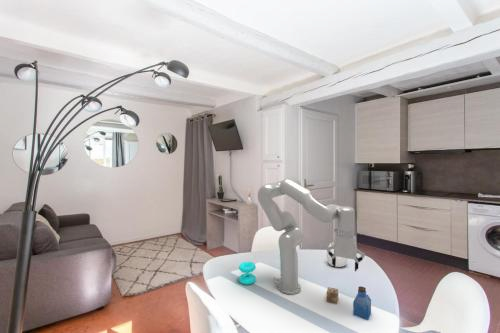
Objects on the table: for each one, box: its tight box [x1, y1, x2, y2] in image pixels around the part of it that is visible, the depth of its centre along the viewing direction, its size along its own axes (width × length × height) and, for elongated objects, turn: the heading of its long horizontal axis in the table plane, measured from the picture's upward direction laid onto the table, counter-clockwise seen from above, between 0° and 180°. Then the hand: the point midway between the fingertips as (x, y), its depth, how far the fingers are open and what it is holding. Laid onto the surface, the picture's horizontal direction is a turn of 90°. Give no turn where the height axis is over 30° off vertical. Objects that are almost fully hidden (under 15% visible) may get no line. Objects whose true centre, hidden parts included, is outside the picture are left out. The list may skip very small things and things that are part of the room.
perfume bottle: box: [352, 286, 372, 321], centre depth 113 cm, size 6×6×12 cm
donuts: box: [238, 261, 257, 286], centre depth 145 cm, size 10×10×10 cm
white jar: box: [326, 242, 348, 268], centre depth 165 cm, size 13×13×14 cm
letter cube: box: [326, 286, 339, 305], centre depth 124 cm, size 5×5×5 cm
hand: (344, 268), depth 118 cm, fingers open, 9 cm apart
